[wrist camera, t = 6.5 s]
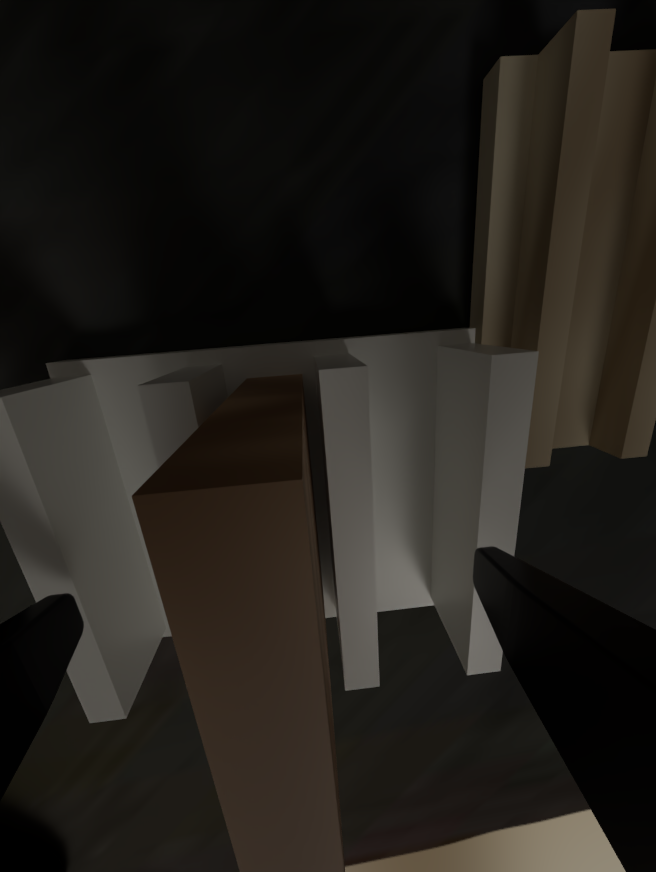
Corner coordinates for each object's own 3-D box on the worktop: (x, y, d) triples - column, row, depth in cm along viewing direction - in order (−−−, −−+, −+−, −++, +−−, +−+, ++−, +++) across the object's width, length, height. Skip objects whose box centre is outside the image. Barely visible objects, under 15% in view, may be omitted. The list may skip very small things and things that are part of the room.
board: (302, 373, 10) (302, 480, 3) (323, 594, 12) (347, 903, 6) (246, 378, 10) (132, 495, 3) (279, 598, 12) (253, 917, 6)
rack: (463, 327, 11) (545, 330, 7) (450, 586, 14) (502, 680, 10) (64, 360, 10) (-68, 381, 6) (147, 621, 13) (90, 732, 10)
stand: (692, 69, 9) (797, 1, 7) (617, 432, 12) (675, 453, 10) (483, 79, 9) (533, 12, 7) (462, 447, 12) (493, 471, 10)
